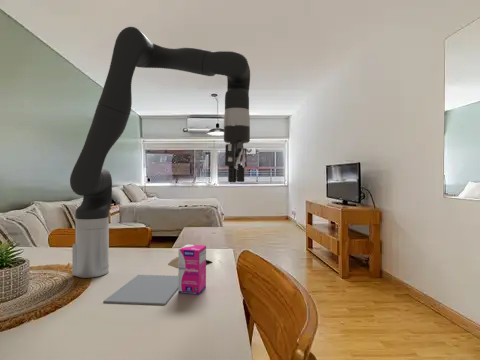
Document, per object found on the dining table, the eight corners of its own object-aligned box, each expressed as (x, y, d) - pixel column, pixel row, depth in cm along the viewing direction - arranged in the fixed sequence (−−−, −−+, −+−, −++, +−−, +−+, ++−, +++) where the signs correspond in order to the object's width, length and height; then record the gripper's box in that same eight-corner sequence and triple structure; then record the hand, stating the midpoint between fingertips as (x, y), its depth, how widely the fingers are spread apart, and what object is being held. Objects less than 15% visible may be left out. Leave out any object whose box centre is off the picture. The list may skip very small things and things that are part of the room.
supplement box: (177, 293, 80) (177, 248, 80) (186, 285, 85) (186, 243, 85) (199, 295, 78) (199, 249, 78) (206, 287, 84) (206, 244, 84)
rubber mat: (103, 302, 74) (103, 300, 74) (138, 276, 94) (138, 274, 94) (165, 305, 72) (165, 303, 72) (187, 277, 92) (187, 276, 92)
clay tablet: (182, 272, 99) (182, 264, 99) (163, 266, 105) (163, 258, 105) (215, 263, 110) (215, 256, 110) (196, 258, 116) (196, 251, 116)
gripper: (231, 130, 98) (231, 181, 98) (216, 122, 84) (216, 182, 84) (254, 129, 96) (254, 181, 96) (243, 121, 82) (242, 182, 82)
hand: (236, 182), depth 90 cm, fingers open, 8 cm apart
